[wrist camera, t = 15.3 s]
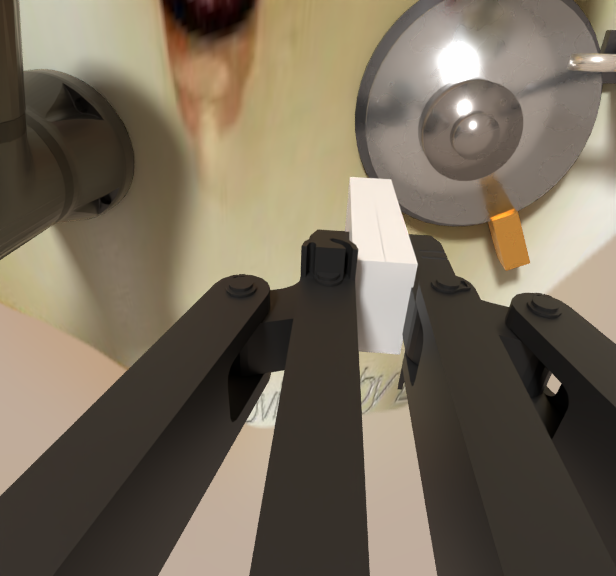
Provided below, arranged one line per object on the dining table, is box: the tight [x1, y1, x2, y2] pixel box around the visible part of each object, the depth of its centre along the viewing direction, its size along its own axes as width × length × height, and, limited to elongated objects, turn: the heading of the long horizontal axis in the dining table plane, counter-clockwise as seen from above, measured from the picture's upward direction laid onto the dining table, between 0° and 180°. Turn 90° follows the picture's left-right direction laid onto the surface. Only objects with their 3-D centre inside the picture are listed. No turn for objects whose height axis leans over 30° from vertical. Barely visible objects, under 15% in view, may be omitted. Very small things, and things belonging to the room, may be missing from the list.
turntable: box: [365, 0, 602, 271], centre depth 39 cm, size 20×26×3 cm
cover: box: [418, 77, 523, 181], centre depth 36 cm, size 8×8×5 cm
